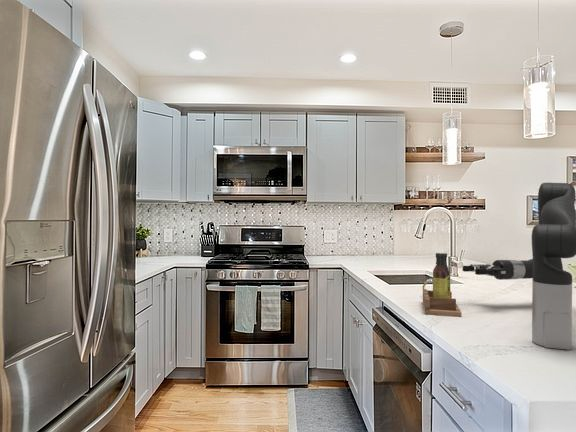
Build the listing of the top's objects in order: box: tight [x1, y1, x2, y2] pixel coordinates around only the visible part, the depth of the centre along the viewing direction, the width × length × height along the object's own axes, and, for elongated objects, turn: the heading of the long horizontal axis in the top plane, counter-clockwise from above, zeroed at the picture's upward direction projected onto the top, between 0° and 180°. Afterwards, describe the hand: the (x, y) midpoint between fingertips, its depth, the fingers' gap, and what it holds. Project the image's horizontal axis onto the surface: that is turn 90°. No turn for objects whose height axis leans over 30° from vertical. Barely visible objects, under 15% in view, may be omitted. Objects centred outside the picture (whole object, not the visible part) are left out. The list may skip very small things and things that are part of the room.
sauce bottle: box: [432, 252, 451, 298], centre depth 149 cm, size 7×6×20 cm
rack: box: [422, 288, 462, 318], centre depth 150 cm, size 20×12×6 cm, turn 164°
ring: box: [422, 278, 433, 290], centre depth 171 cm, size 7×3×8 cm, turn 58°
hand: (469, 270), depth 151 cm, fingers open, 8 cm apart
